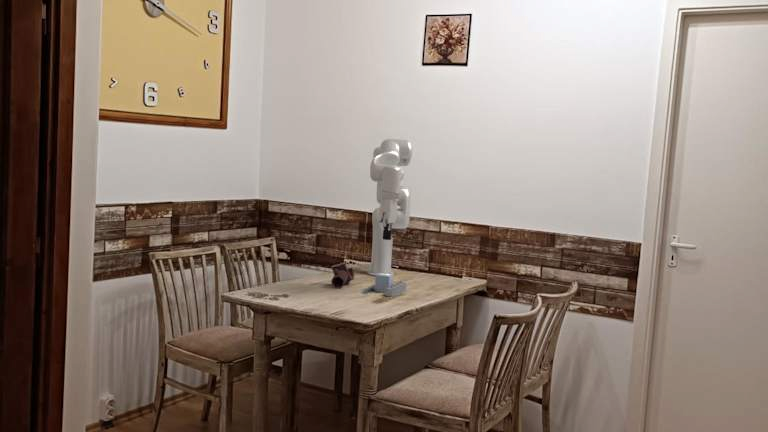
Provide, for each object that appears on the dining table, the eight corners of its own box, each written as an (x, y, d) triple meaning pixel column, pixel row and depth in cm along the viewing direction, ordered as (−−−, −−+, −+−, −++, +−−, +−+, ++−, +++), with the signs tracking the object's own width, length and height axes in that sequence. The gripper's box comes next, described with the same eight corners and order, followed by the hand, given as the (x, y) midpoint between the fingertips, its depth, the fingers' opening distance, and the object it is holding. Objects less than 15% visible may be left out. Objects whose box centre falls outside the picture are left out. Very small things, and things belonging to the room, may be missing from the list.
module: (374, 291, 324) (375, 274, 323) (378, 289, 329) (379, 272, 328) (388, 293, 322) (389, 276, 322) (392, 291, 327) (393, 274, 326)
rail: (363, 293, 319) (363, 284, 318) (378, 286, 336) (378, 277, 335) (392, 296, 315) (392, 288, 314) (405, 289, 332) (406, 281, 331)
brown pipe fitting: (356, 276, 341) (348, 255, 339) (348, 290, 325) (340, 269, 323) (344, 280, 343) (336, 259, 341) (335, 294, 327) (326, 273, 325)
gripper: (387, 194, 330) (384, 236, 332) (375, 196, 316) (372, 240, 318) (403, 195, 327) (401, 238, 329) (392, 197, 313) (389, 242, 315)
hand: (386, 239), depth 324 cm, fingers closed
